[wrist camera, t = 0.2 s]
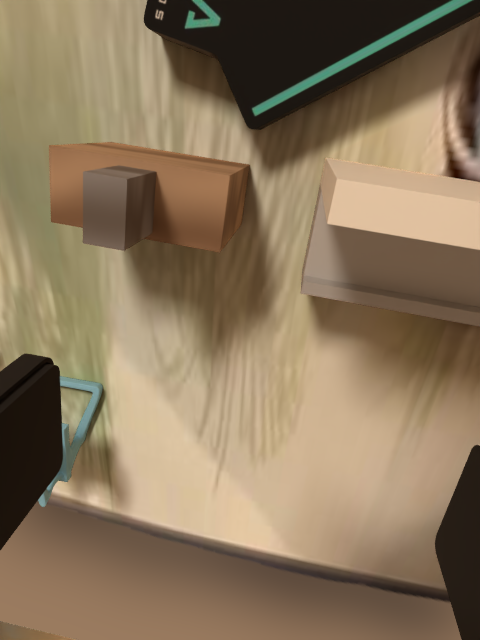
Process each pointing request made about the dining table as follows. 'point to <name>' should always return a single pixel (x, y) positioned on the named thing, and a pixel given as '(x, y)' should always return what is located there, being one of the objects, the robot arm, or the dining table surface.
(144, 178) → the walnut cabinet
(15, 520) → the robot arm
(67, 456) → the chair
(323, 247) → the wall board
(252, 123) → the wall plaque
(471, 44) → the dining table surface
